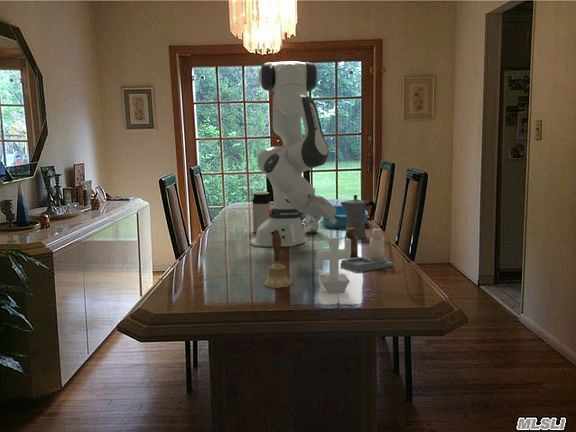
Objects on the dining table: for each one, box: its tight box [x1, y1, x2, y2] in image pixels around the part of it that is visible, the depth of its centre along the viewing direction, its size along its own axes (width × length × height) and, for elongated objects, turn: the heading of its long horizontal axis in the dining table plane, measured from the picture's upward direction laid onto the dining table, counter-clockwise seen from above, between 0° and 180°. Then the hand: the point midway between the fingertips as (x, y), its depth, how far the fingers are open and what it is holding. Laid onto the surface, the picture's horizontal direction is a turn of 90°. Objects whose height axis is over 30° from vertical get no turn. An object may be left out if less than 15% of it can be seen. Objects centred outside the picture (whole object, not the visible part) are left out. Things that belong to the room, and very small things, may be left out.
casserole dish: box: [322, 204, 369, 229], centre depth 256 cm, size 37×22×7 cm, turn 179°
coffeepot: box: [339, 194, 377, 240], centre depth 217 cm, size 15×9×18 cm, turn 68°
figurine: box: [316, 236, 351, 294], centre depth 141 cm, size 7×9×15 cm
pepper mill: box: [344, 228, 359, 259], centre depth 183 cm, size 5×5×10 cm
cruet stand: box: [340, 228, 394, 273], centre depth 167 cm, size 15×9×12 cm, turn 119°
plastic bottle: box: [303, 187, 319, 234], centre depth 231 cm, size 6×7×20 cm
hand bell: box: [263, 230, 293, 289], centre depth 149 cm, size 8×8×16 cm
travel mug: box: [251, 191, 271, 233], centre depth 237 cm, size 8×8×18 cm
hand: (326, 220), depth 176 cm, fingers open, 8 cm apart
